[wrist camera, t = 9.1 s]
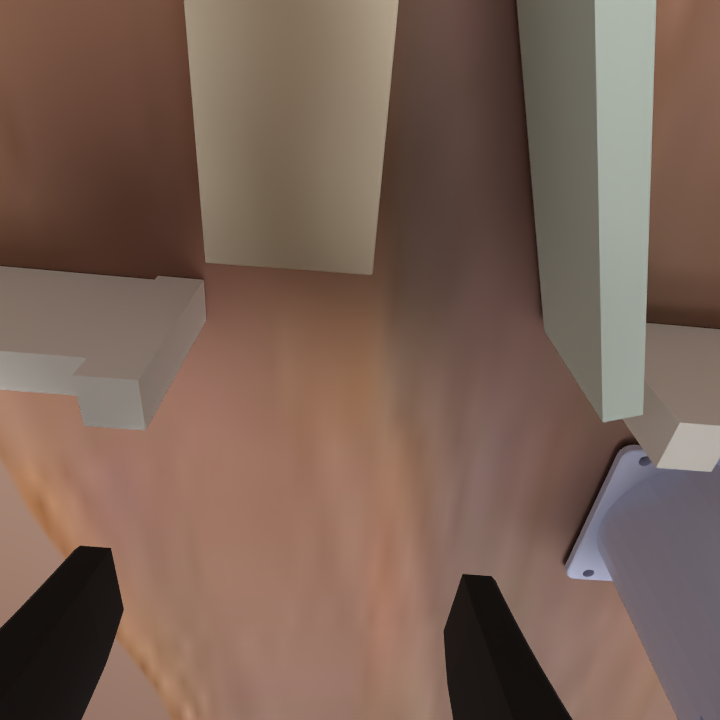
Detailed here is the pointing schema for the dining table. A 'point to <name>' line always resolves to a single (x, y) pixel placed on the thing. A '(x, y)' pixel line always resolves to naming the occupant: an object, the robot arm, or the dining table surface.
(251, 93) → the birch block
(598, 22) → the door
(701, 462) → the wall frame
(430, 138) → the dining table surface
